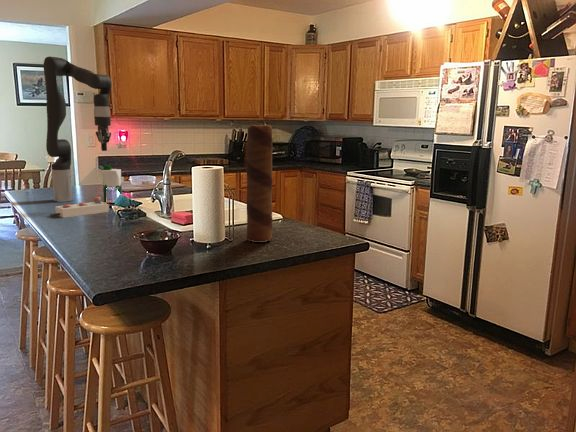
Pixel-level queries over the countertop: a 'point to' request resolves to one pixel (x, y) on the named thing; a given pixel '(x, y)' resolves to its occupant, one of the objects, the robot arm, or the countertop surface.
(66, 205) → the button
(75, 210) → the button panel
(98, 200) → the button
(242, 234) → the countertop surface
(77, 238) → the countertop surface
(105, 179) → the milk carton
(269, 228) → the wafer roll
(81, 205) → the button
